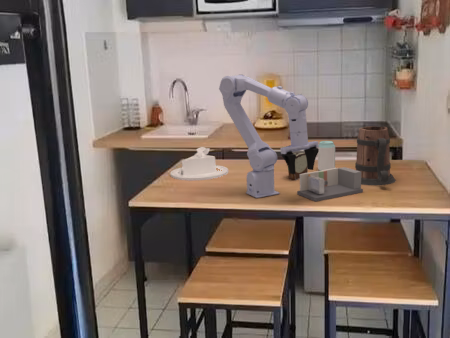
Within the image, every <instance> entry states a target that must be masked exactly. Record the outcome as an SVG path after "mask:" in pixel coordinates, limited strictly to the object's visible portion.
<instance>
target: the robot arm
mask: <svg viewBox="0 0 450 338" xmlns="http://www.w3.org/2000/svg"><path fill="white" fill-rule="evenodd" d="M218 90H219V92H220V93H221V96H222V101H223V102H222V103H223V107H224V109H225V111H227V114H228V116H229V117H230V119H231V120H232V122H233V124H234V126H235V128H236V129H237V131H238V132H239V134H240V136H241V138H242V139H243V141H244V143H245V145H246V146H247V148H248V149H247V153H246V155H247V157H248V160H249V161H248V163H249V165H250V167H251V168H252V170H251V171H248V172H247V174H246V192H245V194H247V195H250V196H251V197H253V198H255V199H259V198H265V197H271V196H274V195H280V192H279V191H276V190H275V165H276V163H277V161H278V154H277V152H276V151H275V150H274V149H273V148H272V147H271V146H270V145H269V144H268V143H267V142H265V141H263V140H262V138H261V137H260V135H259V133H258V132H257V129H256V128H255V126H254V125H253V123H252V121H251V119H250V118H249V116H248V114H247V113H246V111H245V110H244V108H243V105H242V104H241V102H242V99H243V98H244V95H245V94H246V92H247V91H250V92H253V93H255V94H258V95H260V96H263V97H266V98H267V101H268V102H269V103H270V104H272V105H275V106H277V107H279V108H282V109H284V110H285V112H286V113H287V115H288V124H289V136H290V145H287V146H284V147H283V146H282V147H280V154H281V157H282V158H283V160H284V162H285V163H286V165H287V169H288V168H289V171H290V174H295V159H296V154H293V153H292V152H295V151H300V150H304V151H305V155H306V159H307V167H308V171H313V170H314V168H315V163H316V158H317V157H318V152H319V149H318V147H319V141H318V140H317V141H315V140H314V141H309V137H308V123H307V113H306V110H307V109H308V106H309V101H308V98H307V96H305V95H303V94H302V93H301V94H299V93H298V94H295V92H294V91H288V90H286V89H284V88H283V86H281V85H278V86H273V87H270V86H269V85H266V84H264V83H262V82H259V81H258V80H256V79H254V78H252V77H251V76H247V75H244V74H237V75H236V74H235V75H225V76H223V77H222V78H221V80H220V83H219V88H218Z"/></svg>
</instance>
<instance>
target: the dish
mask: <svg viewBox="0 0 450 338" xmlns="http://www.w3.org/2000/svg"><path fill="white" fill-rule="evenodd" d="M210 149H211V148H210V147H209V148H208V147H205V146H200V147H198V148H196V149H195V151H196V153H194V155H192V156H190V157H188V158H187V157H186V158H185V159H182V161H181V167H179V168H178V167H177V168H174V169H173V170H171V171H170V177H171V178H173V179H174V180H180V181H189V182H190V181H205V180H212V179H213V178H214V179H217V178H218V177H219V178H221V176H222V177H224V176H223V175H225V176H227V174H229V168H228V167H227V166H226V167H225V166H223V165H218V164H216V156H213V155H209V152H210ZM216 168H218V169H220V171H219V170H218V171H217V170H216ZM221 170H222V171H221ZM219 178H218V179H219Z"/></svg>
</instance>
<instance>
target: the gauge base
mask: <svg viewBox="0 0 450 338" xmlns="http://www.w3.org/2000/svg"><path fill="white" fill-rule="evenodd" d="M309 174H310V175H313V176H316V177H319V178H322V179H324V181H325V180H327V182H328V184H327V185H324V194H317V193H315V192H312V191H309V190H308V185H307V176H309ZM361 193H364V188H362V185H361V172H360V171H357V170H356V169H352V168H350V167H346V166H345V167H344V166H343V167H335V168H333V169H327V170H321V171H320V170H316V171H311V172H308V173H303V174H300V179H299V190H297V191H296V194H297V195H298V196H300V197H303V198H306V199H308V200H311V201H313V202H322V201H326V200H331V199H336V198H341V197H345V196H349V195H350V196H351V195H355V194H356V195H357V194H361Z"/></svg>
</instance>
